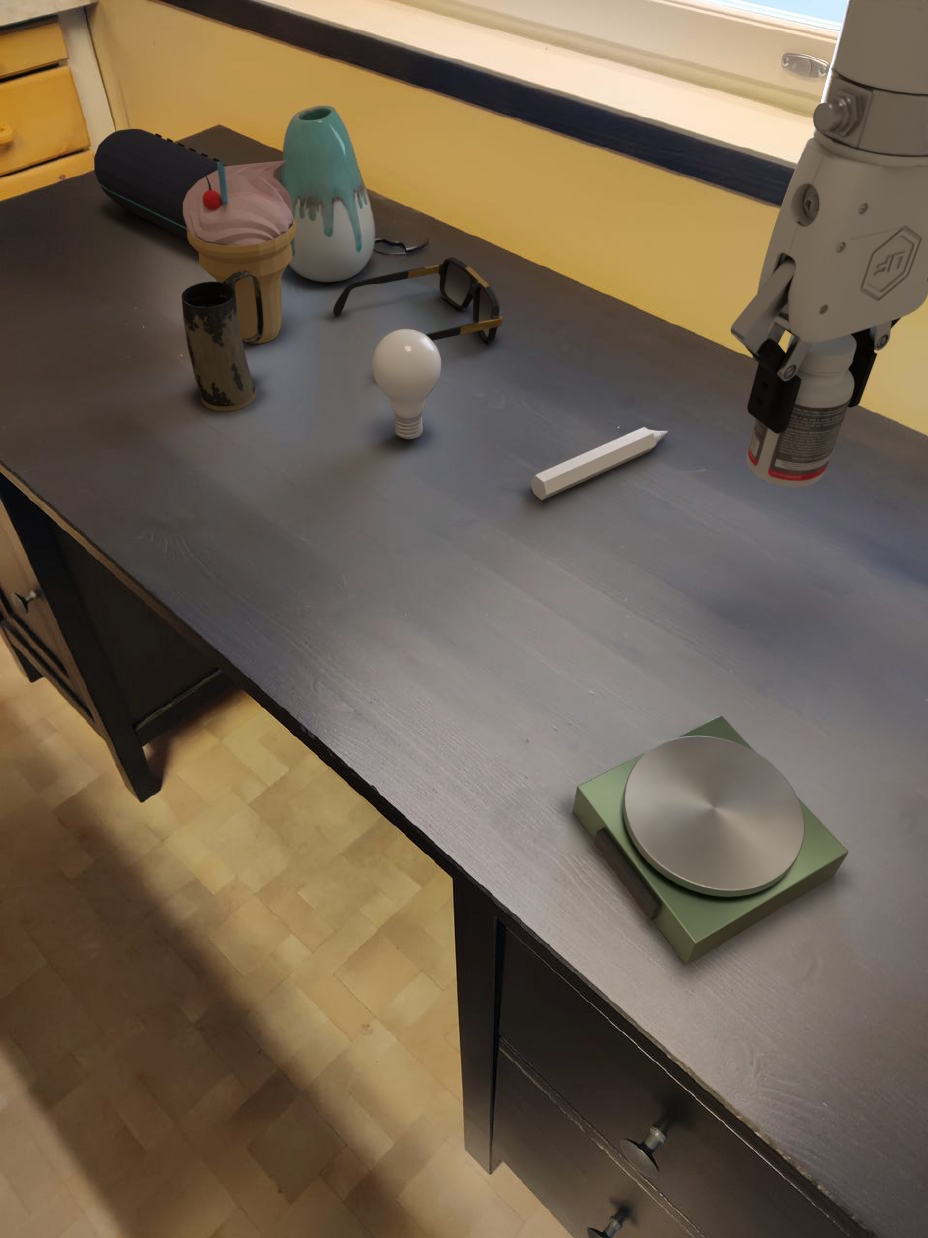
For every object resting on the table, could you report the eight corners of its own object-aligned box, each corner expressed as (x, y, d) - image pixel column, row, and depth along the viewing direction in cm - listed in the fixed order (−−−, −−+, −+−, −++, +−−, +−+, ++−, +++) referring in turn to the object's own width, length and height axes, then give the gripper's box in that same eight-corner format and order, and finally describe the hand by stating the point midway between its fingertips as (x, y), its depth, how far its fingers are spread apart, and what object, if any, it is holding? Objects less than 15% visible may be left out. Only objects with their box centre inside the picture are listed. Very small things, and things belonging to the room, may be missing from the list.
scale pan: (721, 718, 63) (724, 711, 62) (839, 845, 56) (843, 839, 56) (588, 785, 59) (589, 778, 59) (698, 929, 53) (700, 923, 52)
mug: (214, 418, 92) (189, 305, 83) (190, 392, 95) (164, 281, 86) (285, 392, 95) (269, 281, 86) (260, 368, 98) (241, 258, 89)
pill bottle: (839, 467, 65) (885, 340, 57) (795, 501, 62) (839, 372, 55) (773, 434, 67) (810, 308, 60) (729, 465, 65) (762, 337, 58)
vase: (263, 281, 111) (239, 120, 98) (311, 241, 118) (294, 86, 105) (350, 300, 108) (336, 137, 95) (393, 258, 115) (386, 101, 102)
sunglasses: (333, 316, 106) (329, 274, 102) (453, 289, 110) (454, 248, 107) (380, 378, 97) (378, 334, 93) (509, 345, 102) (511, 303, 98)
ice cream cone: (318, 350, 101) (296, 157, 86) (216, 367, 98) (176, 171, 84) (296, 302, 108) (272, 116, 93) (201, 317, 105) (161, 128, 91)
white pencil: (666, 445, 91) (538, 503, 84) (655, 427, 91) (527, 483, 85) (680, 432, 89) (550, 491, 82) (669, 414, 89) (538, 471, 82)
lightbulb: (411, 409, 93) (407, 308, 85) (455, 436, 90) (456, 334, 82) (362, 435, 90) (354, 332, 82) (406, 464, 87) (402, 361, 79)
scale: (712, 739, 66) (721, 714, 64) (834, 875, 59) (849, 852, 57) (566, 813, 62) (570, 789, 59) (679, 969, 55) (689, 948, 52)
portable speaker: (278, 246, 117) (267, 163, 110) (215, 273, 112) (199, 189, 105) (159, 189, 129) (141, 111, 121) (96, 212, 123) (74, 132, 116)
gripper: (821, 166, 43) (736, 478, 56) (1068, 106, 49) (939, 403, 62) (718, 115, 48) (662, 415, 61) (955, 66, 53) (857, 350, 66)
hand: (802, 406), depth 61 cm, fingers closed on pill bottle, 5 cm apart
